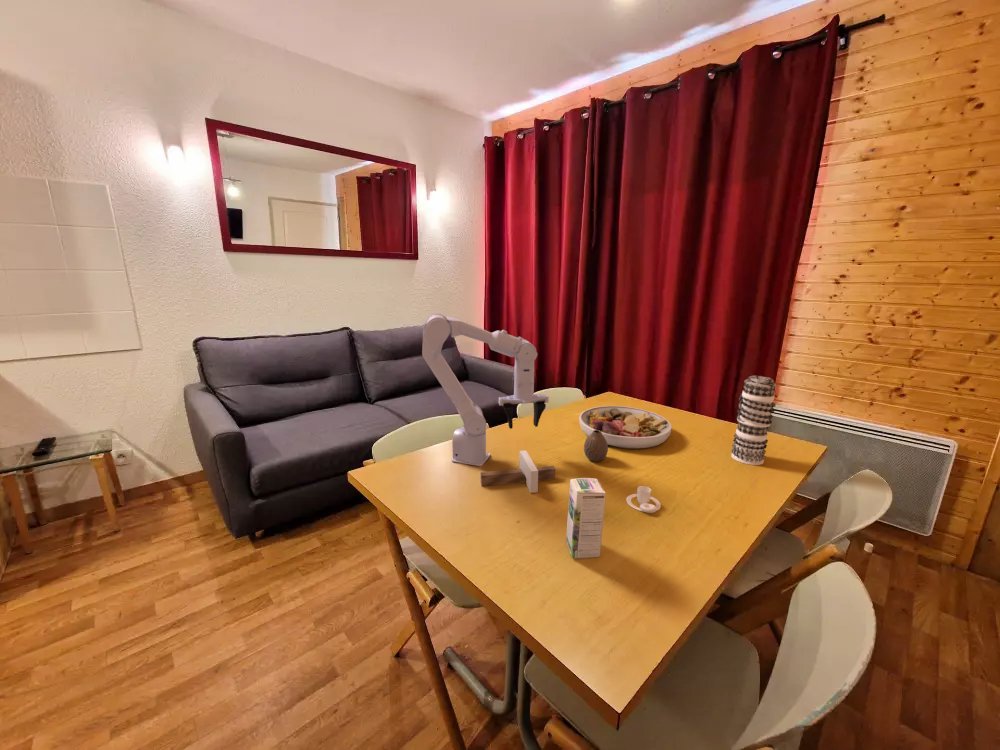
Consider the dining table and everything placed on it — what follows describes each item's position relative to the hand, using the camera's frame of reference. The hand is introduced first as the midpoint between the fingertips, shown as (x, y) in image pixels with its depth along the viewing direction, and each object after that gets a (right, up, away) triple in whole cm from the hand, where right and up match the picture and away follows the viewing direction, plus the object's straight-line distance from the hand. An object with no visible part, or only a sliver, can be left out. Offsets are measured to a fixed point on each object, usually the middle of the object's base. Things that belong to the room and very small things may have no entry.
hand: (523, 426), depth 122 cm
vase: (+22, -10, +1) cm, 24 cm away
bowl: (+35, -5, +20) cm, 41 cm away
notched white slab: (+1, -13, -12) cm, 18 cm away
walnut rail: (-2, -13, -12) cm, 18 cm away
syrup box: (+10, -20, -39) cm, 45 cm away
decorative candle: (+67, -10, +1) cm, 68 cm away
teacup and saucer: (+25, -17, -23) cm, 38 cm away
